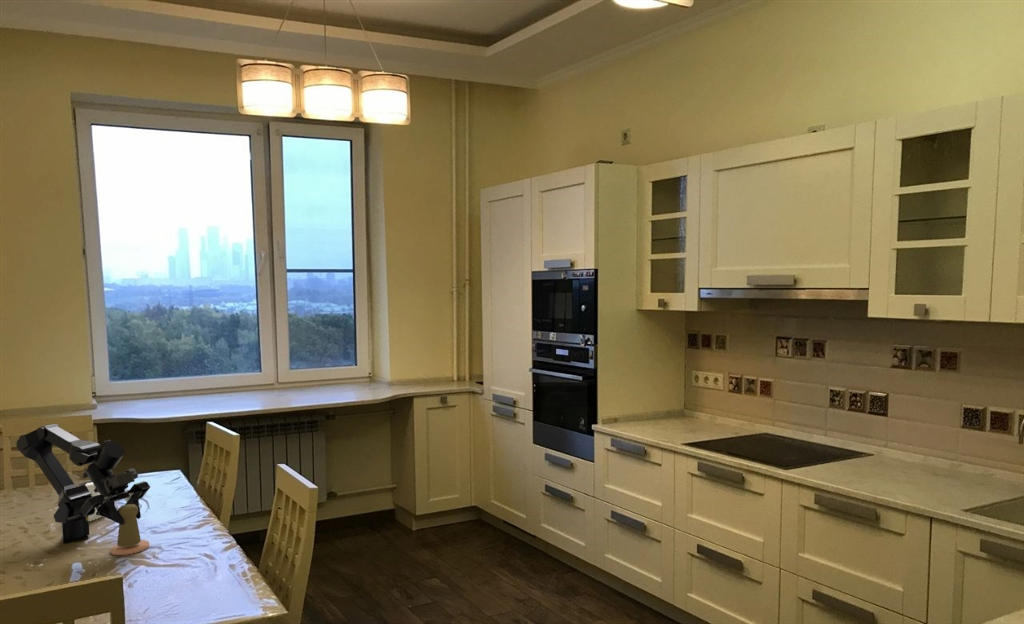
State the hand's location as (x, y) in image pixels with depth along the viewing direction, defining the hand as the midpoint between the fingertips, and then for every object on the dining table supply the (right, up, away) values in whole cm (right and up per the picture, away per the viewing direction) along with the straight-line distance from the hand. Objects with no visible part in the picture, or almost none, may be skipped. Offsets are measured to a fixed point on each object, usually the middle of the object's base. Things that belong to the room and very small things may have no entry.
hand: (131, 520), depth 201 cm
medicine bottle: (-30, -8, +30) cm, 43 cm away
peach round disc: (-1, -8, +1) cm, 8 cm away
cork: (-1, -7, +1) cm, 7 cm away
